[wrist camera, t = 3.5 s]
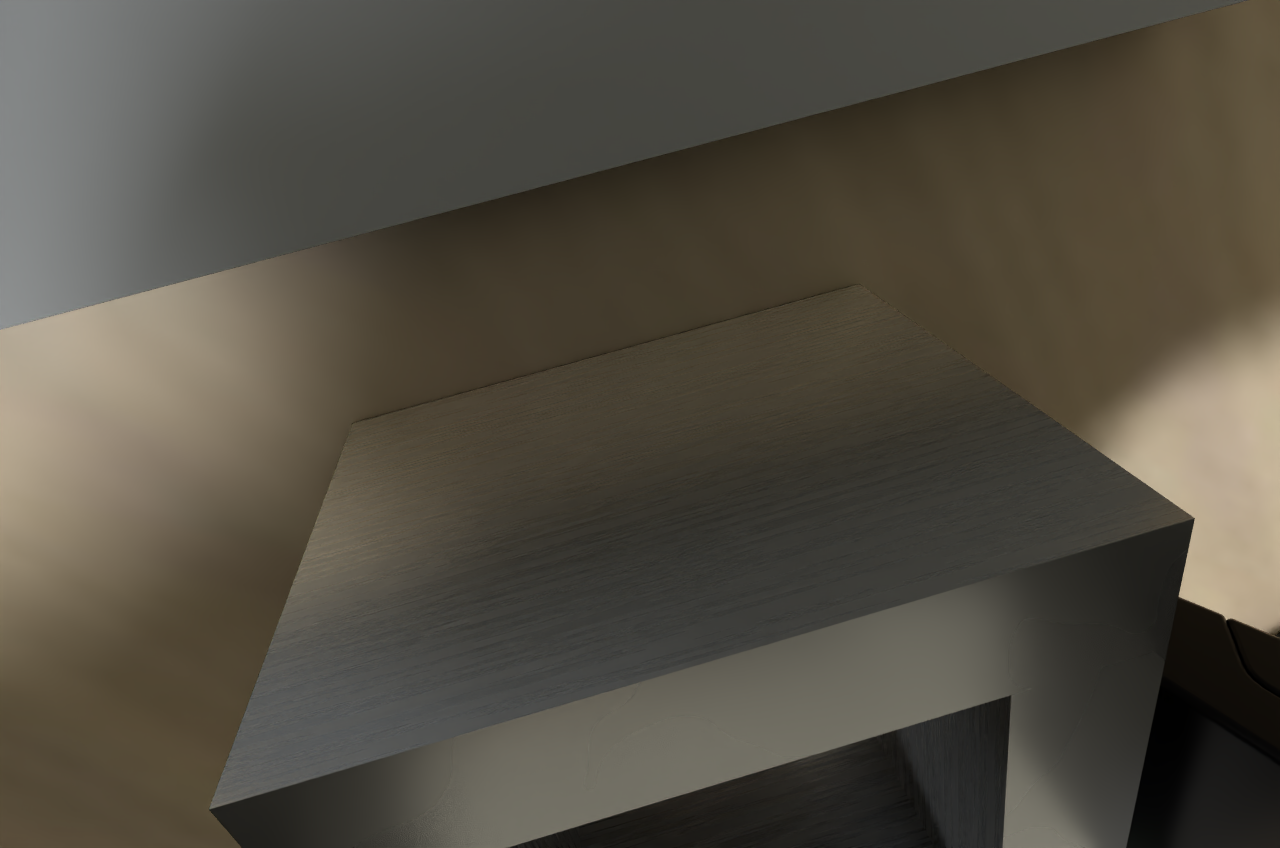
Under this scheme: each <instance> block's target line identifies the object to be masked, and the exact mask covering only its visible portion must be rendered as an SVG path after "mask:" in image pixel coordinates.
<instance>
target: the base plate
mask: <svg viewBox="0 0 1280 848" xmlns="http://www.w3.org/2000/svg"><path fill="white" fill-rule="evenodd" d="M1243 1H1247V0H0V330H1V329H5V328H9V327H12V326H16V325H20V324H24V323H27V322H31V321H35V320H39V319H43V318H46V317H50V316H54V315H58V314H62V313H65V312H69V311H73V310H77V309H80V308H84V307H88V306H92V305H96V304H99V303H103V302H107V301H111V300H115V299H118V298H122V297H126V296H130V295H133V294H137V293H141V292H145V291H149V290H152V289H156V288H160V287H164V286H168V285H171V284H175V283H179V282H183V281H187V280H190V279H194V278H198V277H202V276H205V275H209V274H213V273H217V272H221V271H224V270H228V269H232V268H236V267H240V266H243V265H247V264H251V263H255V262H258V261H262V260H266V259H270V258H274V257H277V256H281V255H285V254H289V253H293V252H296V251H300V250H304V249H308V248H312V247H315V246H319V245H323V244H327V243H330V242H334V241H338V240H342V239H346V238H349V237H353V236H357V235H361V234H365V233H368V232H372V231H376V230H380V229H383V228H387V227H391V226H395V225H399V224H402V223H406V222H410V221H414V220H418V219H421V218H425V217H429V216H433V215H436V214H440V213H444V212H448V211H452V210H455V209H459V208H463V207H467V206H471V205H474V204H478V203H482V202H486V201H490V200H493V199H497V198H501V197H505V196H508V195H512V194H516V193H520V192H524V191H527V190H531V189H535V188H539V187H543V186H546V185H550V184H554V183H558V182H561V181H565V180H569V179H573V178H577V177H580V176H584V175H588V174H592V173H596V172H599V171H603V170H607V169H611V168H614V167H618V166H622V165H626V164H630V163H633V162H637V161H641V160H645V159H649V158H652V157H656V156H660V155H664V154H668V153H671V152H675V151H679V150H683V149H686V148H690V147H694V146H698V145H702V144H705V143H709V142H713V141H717V140H721V139H724V138H728V137H732V136H736V135H739V134H743V133H747V132H751V131H755V130H758V129H762V128H766V127H770V126H774V125H777V124H781V123H785V122H789V121H792V120H796V119H800V118H804V117H808V116H811V115H815V114H819V113H823V112H827V111H830V110H834V109H838V108H842V107H846V106H849V105H853V104H857V103H861V102H864V101H868V100H872V99H876V98H880V97H883V96H887V95H891V94H895V93H899V92H902V91H906V90H910V89H914V88H917V87H921V86H925V85H929V84H933V83H936V82H940V81H944V80H948V79H952V78H955V77H959V76H963V75H967V74H970V73H974V72H978V71H982V70H986V69H989V68H993V67H997V66H1001V65H1005V64H1008V63H1012V62H1016V61H1020V60H1024V59H1027V58H1031V57H1035V56H1039V55H1042V54H1046V53H1050V52H1054V51H1058V50H1061V49H1065V48H1069V47H1073V46H1077V45H1080V44H1084V43H1088V42H1092V41H1095V40H1099V39H1103V38H1107V37H1111V36H1114V35H1118V34H1122V33H1126V32H1130V31H1133V30H1137V29H1141V28H1145V27H1149V26H1152V25H1156V24H1160V23H1164V22H1167V21H1171V20H1175V19H1179V18H1183V17H1186V16H1190V15H1194V14H1198V13H1202V12H1205V11H1209V10H1213V9H1217V8H1220V7H1224V6H1228V5H1232V4H1236V3H1239V2H1243Z"/></svg>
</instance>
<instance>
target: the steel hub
mask: <svg viewBox="0 0 1280 848" xmlns="http://www.w3.org/2000/svg"><path fill="white" fill-rule="evenodd" d="M1194 519H1195V518H1193V517H1192V516H1191V515H1189V514H1188V513H1186V512H1185V511H1183V510H1182V509H1181V508H1179V507H1178V506H1176V505H1175V504H1173V503H1172V502H1171V501H1169V500H1168V499H1166V498H1165V497H1163V496H1162V495H1161V494H1159V493H1158V492H1156V491H1155V490H1153V489H1152V488H1151V487H1149V486H1148V485H1146V484H1145V483H1143V482H1142V481H1141V480H1139V479H1138V478H1136V477H1135V476H1133V475H1132V474H1131V473H1129V472H1128V471H1126V470H1125V469H1123V468H1122V467H1121V466H1119V465H1118V464H1116V463H1115V462H1113V461H1112V460H1111V459H1109V458H1108V457H1106V456H1105V455H1103V454H1102V453H1100V452H1099V451H1098V450H1096V449H1095V448H1093V447H1092V446H1090V445H1089V444H1088V443H1086V442H1085V441H1083V440H1082V439H1080V438H1079V437H1078V436H1076V435H1075V434H1073V433H1072V432H1070V431H1069V430H1068V429H1066V428H1065V427H1063V426H1062V425H1060V424H1059V423H1058V422H1056V421H1055V420H1053V419H1052V418H1050V417H1049V416H1048V415H1046V414H1045V413H1043V412H1042V411H1040V410H1039V409H1038V408H1036V407H1035V406H1033V405H1032V404H1030V403H1029V402H1028V401H1026V400H1025V399H1023V398H1022V397H1020V396H1019V395H1018V394H1016V393H1015V392H1013V391H1012V390H1010V389H1009V388H1007V387H1006V386H1005V385H1003V384H1002V383H1000V382H999V381H997V380H996V379H995V378H993V377H992V376H990V375H989V374H987V373H986V372H985V371H983V370H982V369H980V368H979V367H977V366H976V365H975V364H973V363H972V362H970V361H969V360H967V359H966V358H965V357H963V356H962V355H960V354H959V353H957V352H956V351H955V350H953V349H952V348H950V347H949V346H947V345H946V344H945V343H943V342H942V341H940V340H939V339H937V338H936V337H935V336H933V335H932V334H930V333H929V332H927V331H926V330H925V329H923V328H922V327H920V326H919V325H917V324H916V323H914V322H913V321H912V320H910V319H909V318H907V317H906V316H904V315H903V314H902V313H900V312H899V311H897V310H896V309H894V308H893V307H892V306H890V305H889V304H887V303H886V302H884V301H883V300H882V299H880V298H879V297H877V296H876V295H874V294H873V293H872V292H870V291H869V290H867V289H866V288H864V287H863V286H862V285H860V284H857V285H854V286H850V287H847V288H843V289H839V290H836V291H832V292H828V293H825V294H821V295H817V296H814V297H810V298H807V299H803V300H799V301H796V302H792V303H788V304H785V305H781V306H777V307H774V308H770V309H767V310H763V311H759V312H756V313H752V314H748V315H745V316H741V317H737V318H734V319H730V320H727V321H723V322H719V323H716V324H712V325H708V326H705V327H701V328H698V329H694V330H690V331H687V332H683V333H679V334H676V335H672V336H668V337H665V338H661V339H658V340H654V341H650V342H647V343H643V344H639V345H636V346H632V347H628V348H625V349H621V350H618V351H614V352H610V353H607V354H603V355H599V356H596V357H592V358H588V359H585V360H581V361H578V362H574V363H570V364H567V365H563V366H559V367H556V368H552V369H548V370H545V371H541V372H538V373H534V374H530V375H527V376H523V377H519V378H516V379H512V380H508V381H505V382H501V383H498V384H494V385H490V386H487V387H483V388H479V389H476V390H472V391H468V392H465V393H461V394H458V395H454V396H450V397H447V398H443V399H439V400H436V401H432V402H428V403H425V404H421V405H418V406H414V407H410V408H407V409H403V410H399V411H396V412H392V413H388V414H385V415H381V416H378V417H374V418H370V419H367V420H363V421H359V422H356V423H352V426H351V429H350V431H349V434H348V437H347V439H346V442H345V445H344V448H343V450H342V453H341V456H340V458H339V461H338V464H337V466H336V469H335V472H334V474H333V477H332V480H331V482H330V485H329V488H328V491H327V493H326V496H325V499H324V501H323V504H322V507H321V509H320V512H319V515H318V517H317V520H316V523H315V525H314V528H313V531H312V534H311V536H310V539H309V542H308V544H307V547H306V550H305V552H304V555H303V558H302V560H301V563H300V566H299V568H298V571H297V574H296V576H295V579H294V582H293V585H292V587H291V590H290V593H289V595H288V598H287V601H286V603H285V606H284V609H283V611H282V614H281V617H280V619H279V622H278V625H277V628H276V630H275V633H274V636H273V638H272V641H271V644H270V646H269V649H268V652H267V654H266V657H265V660H264V662H263V665H262V668H261V671H260V673H259V676H258V679H257V681H256V684H255V687H254V689H253V692H252V695H251V697H250V700H249V703H248V705H247V708H246V711H245V713H244V716H243V719H242V722H241V724H240V727H239V730H238V732H237V735H236V738H235V740H234V743H233V746H232V748H231V751H230V754H229V756H228V759H227V762H226V765H225V767H224V770H223V773H222V775H221V778H220V781H219V783H218V786H217V789H216V791H215V794H214V797H213V799H212V802H211V805H210V808H209V810H210V811H211V813H212V814H213V815H214V816H215V817H216V818H217V820H218V821H219V822H220V823H221V824H222V825H223V826H224V828H225V829H226V830H227V831H228V832H229V833H230V834H231V836H232V837H233V838H234V839H235V840H236V841H237V842H238V844H239V845H240V846H241V847H242V848H1126V846H1127V841H1128V836H1129V831H1130V827H1131V822H1132V817H1133V812H1134V807H1135V803H1136V798H1137V793H1138V788H1139V783H1140V779H1141V774H1142V769H1143V764H1144V759H1145V755H1146V750H1147V745H1148V740H1149V735H1150V731H1151V726H1152V721H1153V716H1154V711H1155V707H1156V702H1157V697H1158V692H1159V687H1160V683H1161V678H1162V673H1163V668H1164V663H1165V659H1166V654H1167V649H1168V644H1169V639H1170V635H1171V630H1172V625H1173V620H1174V615H1175V611H1176V606H1177V601H1178V596H1179V591H1180V587H1181V582H1182V577H1183V572H1184V567H1185V563H1186V558H1187V553H1188V548H1189V543H1190V539H1191V534H1192V529H1193V524H1194Z"/></svg>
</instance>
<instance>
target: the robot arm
mask: <svg viewBox="0 0 1280 848" xmlns="http://www.w3.org/2000/svg"><path fill="white" fill-rule="evenodd" d="M1126 848H1280V638H1279V637H1276V636H1274V635H1271V634H1269V633H1266V632H1264V631H1261V630H1259V629H1256V628H1254V627H1252V626H1249V625H1247V624H1244V623H1242V622H1239V621H1237V620H1234V619H1228V620H1226V619H1225V617H1224V616H1223V615H1222V614H1219V613H1217V612H1214V611H1212V610H1209V609H1207V608H1205V607H1202V606H1200V605H1197V604H1195V603H1192V602H1190V601H1187V600H1185V599H1183V598H1180V597H1178V601H1177V606H1176V611H1175V615H1174V620H1173V625H1172V630H1171V635H1170V639H1169V644H1168V649H1167V654H1166V659H1165V663H1164V668H1163V673H1162V678H1161V683H1160V687H1159V692H1158V697H1157V702H1156V707H1155V711H1154V716H1153V721H1152V726H1151V731H1150V735H1149V740H1148V745H1147V750H1146V755H1145V759H1144V764H1143V769H1142V774H1141V779H1140V783H1139V788H1138V793H1137V798H1136V803H1135V807H1134V812H1133V817H1132V822H1131V827H1130V831H1129V836H1128V841H1127V846H1126Z"/></svg>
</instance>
